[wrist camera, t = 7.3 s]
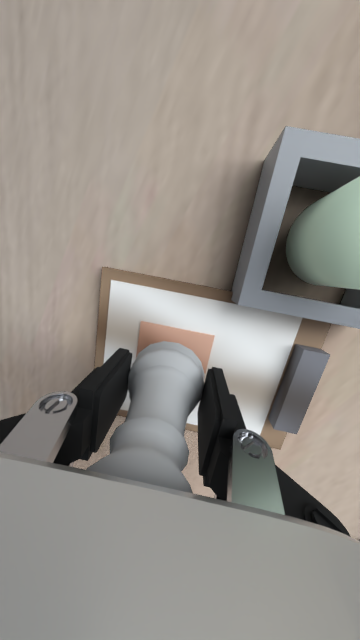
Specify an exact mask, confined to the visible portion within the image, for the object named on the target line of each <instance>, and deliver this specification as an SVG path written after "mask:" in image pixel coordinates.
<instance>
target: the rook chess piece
mask: <svg viewBox="0 0 360 640" xmlns="http://www.w3.org/2000/svg"><path fill="white" fill-rule="evenodd" d="M204 376H205V374H204V370H203V367H202V363H201V361H200V359H199V358H198V357H197V356H196V355H195V353H194V352H193V351H192V350H191V349H189V348H187V347H185V346H183V345H181V344H180V343H174V342H167V341H162V342H158V343H154V344H150V345H149V346H147V347H146V348H145V349H143V350H142V351H141V352H139V354H138V355H137V357H136V359H135V361H134V363H133V366H132V367H131V369H130V371H129V376H128V391H129V398H130V400H131V402H130V406H129V409H128V413H127V417H126V420H125V422H124V423H123V424H122V425H120V426H119V427H117V428H116V430H115V431H114V433H113V435H112V437H111V438H110V455H108V456H106V457H104V458H102V459H101V460H99V461H98V462H96V463H94V464H93V465H91V466H90V467H88V468H87V469H86V470H88V471H93V472H97V473H102V474H107V475H111V476H116V477H120V478H125V479H130V480H134V481H139V482H143V483H148V484H152V485H157V486H161V487H166V488H170V489H175V490H179V491H184V492H188V493H193V492H192V490H191V487H190V484H189V483H188V481H187V480H186V478H185V477H184V475H183V474H182V472H181V471H182V470H183V469H184V467H185V466H186V465H187V461H188V455H189V450H188V447H187V444H186V441H185V438H184V431H185V427H186V422H187V418H188V416H189V415H190V413H191V412H192V411H193V410H194V409H195V407H196V406H197V404H198V403H199V401H200V400H201V397H202V393H203V388H204Z"/></svg>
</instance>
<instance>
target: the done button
mask: <svg viewBox="0 0 360 640" xmlns="http://www.w3.org/2000/svg"><path fill="white" fill-rule="evenodd" d="M286 256H287V260H288V264H289V266H290V268H291V269H292V271H293V272H294V273H295V275H296V276H297V277H299V278H300V279H301V280H303V281H305V282H307V283H309V284H313V285H319V286H329V287H339V288H348V289H358V290H360V176H359V177H358V178H356V179H354V180H352V181H351V182H349V183H347V184H346V185H344V186H342V187H340V188H339V189H337V190H335V191H333V192H332V193H330V194H328V195H327V196H325V197H323V198H321V199H320V200H318V201H316V202H315V203H313V204H311V205H310V206H309V207H307V208H306V209H305V210H304V211H303V212H302V213H301V214H300V215H299V216H298V217H297V218H296V220H295V222H294V223H293V225H292V227H291V229H290V231H289V234H288V237H287V242H286Z"/></svg>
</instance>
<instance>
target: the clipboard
mask: <svg viewBox="0 0 360 640" xmlns="http://www.w3.org/2000/svg"><path fill="white" fill-rule="evenodd" d="M232 295H233V292H232V291H227V290H222V289H217V288H212V287H206V286H201V285H196V284H191V283H186V282H181V281H175V280H170V279H165V278H160V277H155V276H150V275H145V274H139V273H134V272H129V271H124V270H119V269H114V268H108V267H102V275H101V288H100V301H99V314H98V326H97V339H96V352H95V365H94V369H95V368H97V367H101V366H102V365H103V364H104V363H105V362H106V361H107V360H108V359H109V358H110V357H111V356H112V355H113V354H114V353H115V352H116V351H117V350H118V349H119V348H123V349H128V350H129V351H130V353H132V361H131V367H132V366H133V363H134V361H135V359H136V357H137V355H138V354H139V352H141V351H142V350H143V349H145V348H146V347H147V346H149V345H150V344H154V343H158V342H162V341H167V342H174V343H180V344H181V345H183V346H185V347H187V348H189V349H191V350H192V351H193V352H194V353H195V355H196V356H197V357H198V358H199V359H200V361H201V363H202V367H203V370H204V374H205V376H204V383H205V379H206V375H207V371H208V368H209V369H211V368H212V367H216V368H221V369H223V373H224V376H225V380H226V383H227V386H228V390H229V393H230V394H233V395H235V397H236V399H237V402H238V405H239V408H240V411H241V414H242V417H243V420H244V423H245V426H246V429H247V430H251V431H253V432H255V433H257V434H258V435H260V436H261V437H263V438H264V439H265V440H266V441H267V443H268V444H269V446H270V447H271V448H275V449H281V447H282V444H283V442H284V439H285V437H286V434H287V432H289V433H294V434H297V432H298V430H299V428H300V425H301V423H302V421H303V418H304V416H305V414H306V411H307V409H308V406H309V404H310V402H311V399H312V397H313V395H314V392H315V390H316V388H317V385H318V383H319V380H320V378H321V376H322V373H323V371H324V369H325V366H326V364H327V362H328V359H329V357H330V354H328V353H326V352H325V351H323V350H321V348H322V346H323V343H324V341H325V338H326V336H327V333H328V331H329V328H330V326H331V323H328V322H323V321H317V320H312V319H307V318H302V317H297V316H292V315H287V314H282V313H277V312H271V311H266V310H261V309H256V308H251V307H246V306H241V305H237V304H236V303H235V302H233V301H232V300H231V299H232ZM130 402H131V400H130V398H129V391H127V396H126V399H125V401H124V403H123V405H122V406H121V408H120V410H119V412H118V414H117V415H119V416H124V417H127V413H128V409H129V406H130ZM199 403H200V401H199ZM199 403H198V404H197V406H196V407H195V409H194V410H193V411H192V412H191V413H190V415H189V416H188V418H187V422H186V427H185V430H190V431H194V432H198V416H197V414H198V407H199Z"/></svg>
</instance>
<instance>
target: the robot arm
mask: <svg viewBox="0 0 360 640" xmlns="http://www.w3.org/2000/svg"><path fill="white" fill-rule="evenodd" d="M131 361H132V353H130V351H129V350H128V349H123V348H119V349H118V350H117V351H116V352H115V353H114V354H113V355H112V356H111V357H110V358H109V359H108V360H107V361H106V362H105V363H104V364H103V365H102V366H101V367H97V368H95V369H94V370H93V371H92V372H91V373H90V374H89V375H88V376H87V377H86V378H85V379H84V380H83V381H82V382H81V383H80V384H79V385H78V386H77V387H76V388H75V389H74V390H73V391H72V392H66V391H58V392H53V393H50V394H47V395H45V396H43V397H41V398H40V399H39V400H37V401H36V402H35V404H34V405H33V406H32V407H31V408H30V410H29V411H28V412H27V413H25V414H22V415H18V416H14V417H11V418H7V419H4V420H0V640H360V540H356V539H354V538H352V537H351V536H350V535H349V533H348V531H347V530H346V528H345V527H344V526H343V524H342V523H341V522H340V521H339V519H338V518H337V517H336V516H334V515H333V514H332V513H331V512H330V511H329V510H328V509H327V508H326V507H324V506H323V505H322V504H321V503H320V502H319V501H317V500H316V499H315V498H314V497H313V496H311V495H310V494H309V493H308V492H307V491H306V490H304V489H303V488H302V487H301V486H300V485H299V484H297V483H296V482H295V481H294V480H293V479H291V478H290V477H289V476H288V475H287V474H286V473H284V472H283V471H282V470H281V469H280V468H278V467H277V466H276V465H275V463H274V458H273V453H272V450H271V447H270V446H269V444H268V443H267V441H266V440H265V439H264V438H263V437H261V436H260V435H258V434H257V433H255V432H253V431H251V430H247V429H246V426H245V423H244V420H243V417H242V414H241V411H240V408H239V405H238V402H237V399H236V397H235V395H233V394H230V393H229V390H228V386H227V383H226V380H225V376H224V373H223V369H221V368H216V367H212V368H211V369H209V368H208V371H207V375H206V379H205V383H204V388H203V393H202V397H201V400H200V403H199V407H198V414H197V416H198V456H199V475H201V476H203V484H204V486H206V487H210V488H211V489H212V490H213V491H214V493H215V496H214V498H210V497H206V496H202V495H197V494H193V493H188V492H184V491H179V490H175V489H170V488H166V487H161V486H157V485H152V484H148V483H143V482H139V481H134V480H130V479H125V478H120V477H116V476H111V475H107V474H102V473H97V472H93V471H88V470H83V469H79V468H74V467H73V464H74V461H76V460H78V459H82V460H87V461H88V459H89V458H90V456H91V454H92V452H95V453H96V452H97V451H98V449H99V447H100V445H101V444H102V442H103V440H104V438H105V436H106V434H107V432H108V431H109V429H110V427H111V425H112V423H113V421H114V419H115V418H116V416H117V414H118V412H119V410H120V408H121V406H122V405H123V403H124V401H125V399H126V396H127V391H128V376H129V371H130V369H131Z"/></svg>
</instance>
